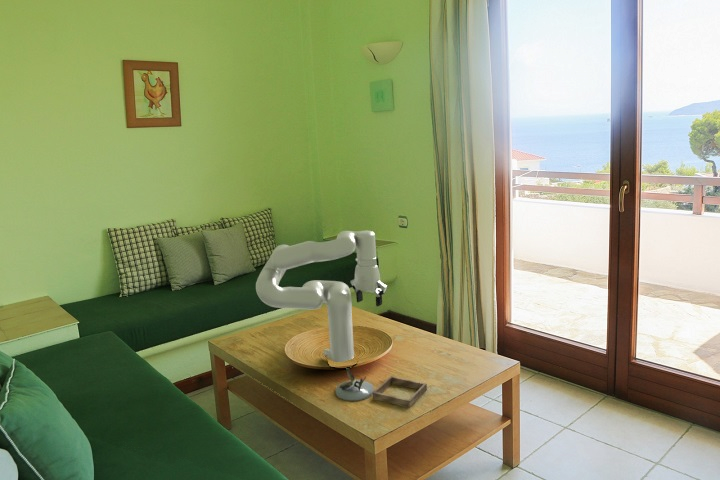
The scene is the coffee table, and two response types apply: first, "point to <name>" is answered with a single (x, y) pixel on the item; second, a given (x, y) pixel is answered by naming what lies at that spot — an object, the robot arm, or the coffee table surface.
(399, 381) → the walnut frame
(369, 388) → the grey round plate
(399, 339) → the coffee table surface
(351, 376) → the eagle figurine
